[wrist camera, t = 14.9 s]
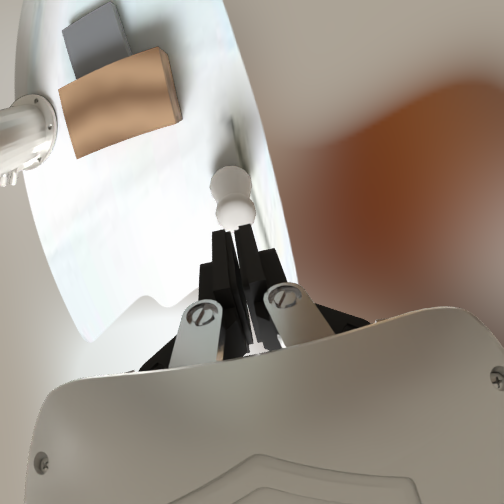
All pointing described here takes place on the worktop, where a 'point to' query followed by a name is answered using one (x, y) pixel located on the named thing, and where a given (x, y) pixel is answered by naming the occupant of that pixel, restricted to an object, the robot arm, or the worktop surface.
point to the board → (96, 40)
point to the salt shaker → (232, 197)
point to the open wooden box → (120, 101)
